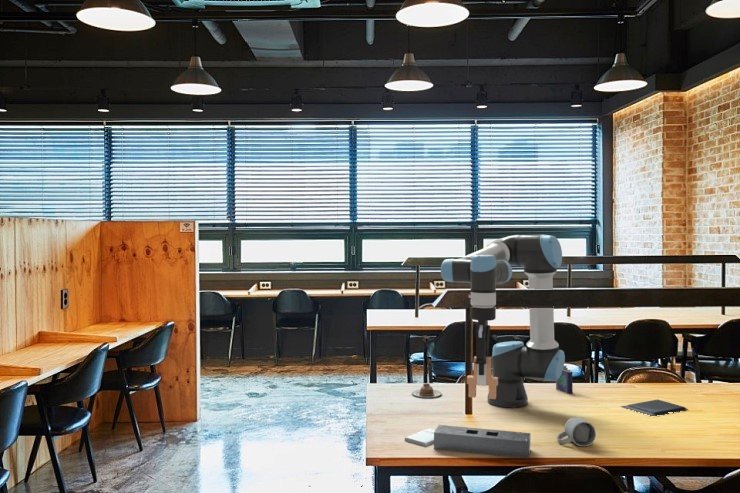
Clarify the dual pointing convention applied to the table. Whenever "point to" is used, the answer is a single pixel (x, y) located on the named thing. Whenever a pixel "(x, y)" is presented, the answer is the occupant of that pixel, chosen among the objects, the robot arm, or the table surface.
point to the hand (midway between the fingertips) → (482, 383)
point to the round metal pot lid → (426, 391)
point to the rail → (482, 441)
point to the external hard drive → (422, 437)
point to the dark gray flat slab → (655, 407)
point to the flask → (565, 381)
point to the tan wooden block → (490, 381)
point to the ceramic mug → (578, 432)
